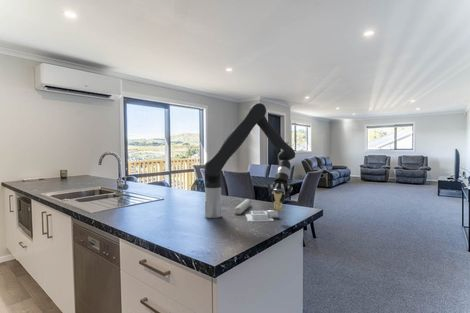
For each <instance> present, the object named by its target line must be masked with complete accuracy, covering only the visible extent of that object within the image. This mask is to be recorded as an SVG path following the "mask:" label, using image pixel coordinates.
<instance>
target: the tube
mask: <svg viewBox="0 0 470 313" xmlns="http://www.w3.org/2000/svg"><path fill="white" fill-rule="evenodd" d="M251 205H252V200H251V199H249V198H245V200H243V201H242V202H240V203H239V204H238V205H236V206H235V208H234V211H233V212H234V213H235V214H236V215H241V214H242V213H244V212H245V211H246V210H247V209H248V208H249V207H250V206H251Z"/></svg>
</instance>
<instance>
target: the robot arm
mask: <svg viewBox="0 0 470 313" xmlns="http://www.w3.org/2000/svg"><path fill="white" fill-rule="evenodd" d="M266 113H267V109H266V106H265V104H264V103H261V102H257V103H254V104H253V105H252V106H251V107H250V108H249V109H248V113H247V114H246V116H245V117H244V119H243V120H242V121H241V122H239V123H238V124H237V125H236V127H235V128H233V130H232V131H231V132H230V133H229V135H228V136H227V137H226V138H225V140H224V141H223V142H222V145H221V146H220V148H219V150H218V151H217V152H216V154H215V155H214V156H213V157H212V158H211V159H209V160H208V161H206V163H205V164H204V190H205V191H204V193H205V196H204V198H205V201H204V216H205V217H204V218H205V219H208V218H209V219H217V218H221V217H222V180H221V171H222V170H223V168H224V167H225V165H226V164H227V162H228V160H229V159H230V158H231V157H233V155H234V154H235V153H236V152H237V150H238V149H239V148H240V147H241V146H242V145H243V143H244V142H245V141H246V139H247V138H248V136H249V135H250V134H251V132H252V131H253V128H255V126H256V125H257V126H258V127H259V128H260V129H261V131H262V132H263V133H264V135H265V137H266V138H267V139H268V141H269V142H270V144H271V145H272V146H273V148H274V149H275V150H282V151H280V152H279V153H278V154H277V163H278V165H277V169H276V172H275V176H274V181H273V183H272V184H270V183H268V184H267V188H268V194H269V196H270V201H271V202H272V203H274V191H273V189H274V188H281V189H284V190H283V191H282V198H281V203H282V204H283V203H284V202H285V200H286V198H288V197H290V196H291V193H292V191H293V189H294V188H293V185H289V179H290V170H291V164H292V163H291V162H290V161H291V160H293V159H295V157H296V151H295V150H294V148H293V147H292V146H290V144H288V143H287V142H286V141H284V139H283V137H282V135H280V133H279V132H278V131H277V130H276V129H275V128H274V126H272V124H270V122H269V121H268V120H267V118H266ZM286 190H287V191H286Z"/></svg>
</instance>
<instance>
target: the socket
mask: <svg viewBox="0 0 470 313" xmlns="http://www.w3.org/2000/svg"><path fill="white" fill-rule="evenodd" d="M278 217H279V211H274V209H272V210H269V209H268V210H250V213H246V214H245V218H246V220H247V222H248V223H251V222H252V223H256V222H257V223H258V222H259V223H260V222H261V223H262V222H274V221H275V220H274V218H278Z"/></svg>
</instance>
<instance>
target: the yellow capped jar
mask: <svg viewBox="0 0 470 313" xmlns="http://www.w3.org/2000/svg"><path fill="white" fill-rule="evenodd" d="M283 190H284V189H281V188H274V187H273V188H272V192H273V191H274V202H273V210H274V211H278V212H283V203H281V198H282V195H283V193H282V191H283Z"/></svg>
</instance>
